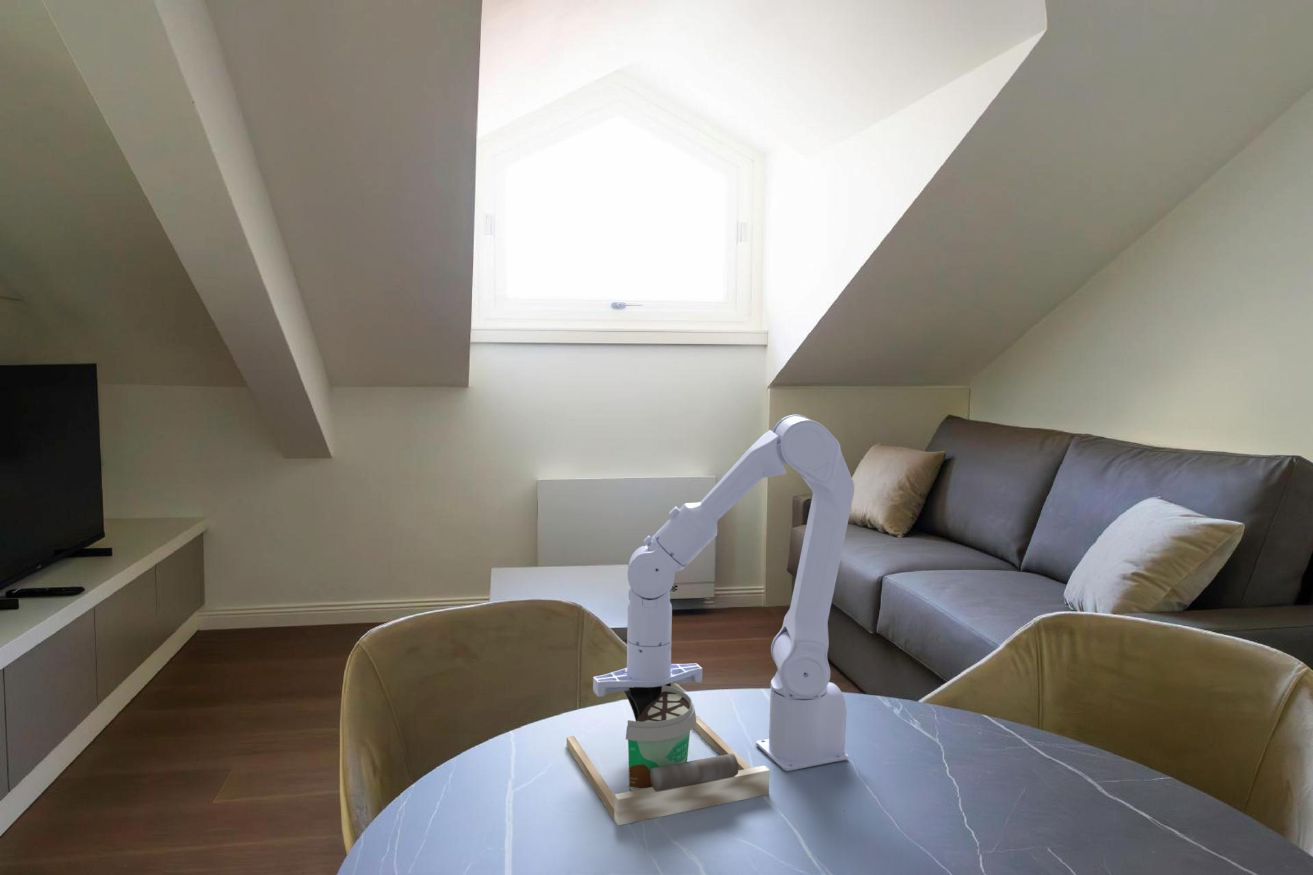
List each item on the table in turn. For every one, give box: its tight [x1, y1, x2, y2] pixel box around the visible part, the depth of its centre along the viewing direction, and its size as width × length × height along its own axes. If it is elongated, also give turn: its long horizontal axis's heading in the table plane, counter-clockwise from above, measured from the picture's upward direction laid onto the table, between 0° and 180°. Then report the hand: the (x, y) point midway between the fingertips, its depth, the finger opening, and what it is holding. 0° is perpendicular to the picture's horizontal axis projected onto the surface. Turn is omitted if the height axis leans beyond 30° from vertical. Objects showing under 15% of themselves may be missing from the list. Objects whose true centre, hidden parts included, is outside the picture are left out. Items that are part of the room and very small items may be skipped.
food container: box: [625, 685, 697, 792], centre depth 101 cm, size 12×6×10 cm, turn 159°
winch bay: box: [566, 715, 771, 826], centre depth 105 cm, size 19×21×5 cm
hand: (647, 740), depth 110 cm, fingers closed
